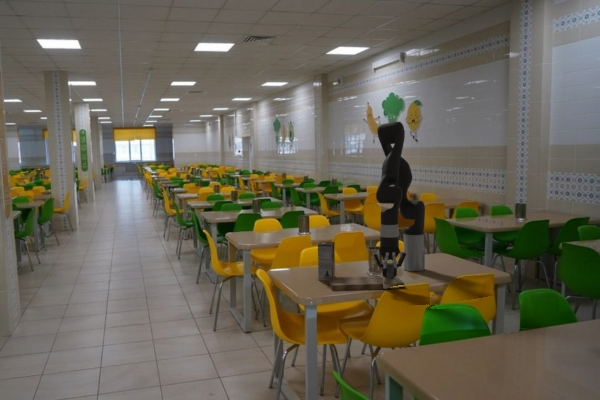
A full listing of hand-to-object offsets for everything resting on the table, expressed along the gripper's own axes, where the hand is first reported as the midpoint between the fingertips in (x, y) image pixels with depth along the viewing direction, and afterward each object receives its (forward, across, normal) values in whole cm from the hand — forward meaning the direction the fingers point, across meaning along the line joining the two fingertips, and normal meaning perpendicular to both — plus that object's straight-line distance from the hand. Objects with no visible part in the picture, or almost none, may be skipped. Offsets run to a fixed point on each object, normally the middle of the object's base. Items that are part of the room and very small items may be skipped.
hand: (389, 276), depth 214 cm
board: (+5, +8, -8) cm, 13 cm away
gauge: (+5, 0, -5) cm, 7 cm away
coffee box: (+5, +24, -22) cm, 33 cm away
